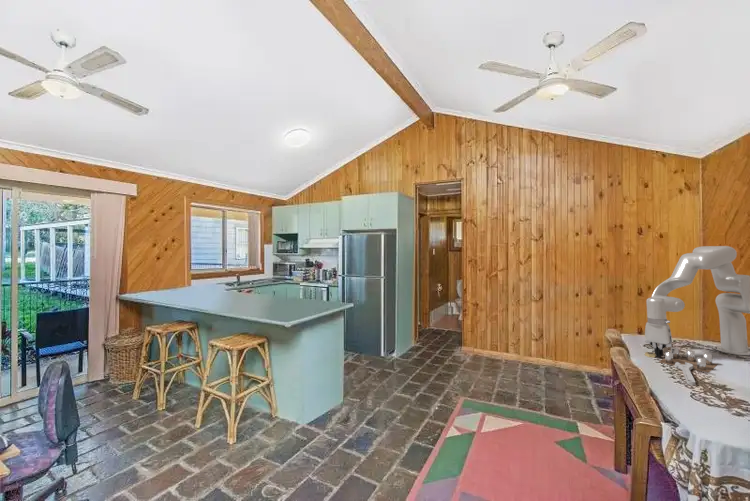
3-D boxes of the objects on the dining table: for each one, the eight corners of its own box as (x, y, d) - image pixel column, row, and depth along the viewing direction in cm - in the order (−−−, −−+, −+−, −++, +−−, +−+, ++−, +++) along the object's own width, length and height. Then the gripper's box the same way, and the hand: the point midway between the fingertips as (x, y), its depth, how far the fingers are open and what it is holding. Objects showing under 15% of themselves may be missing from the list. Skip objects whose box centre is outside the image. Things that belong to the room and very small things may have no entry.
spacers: (672, 356, 167) (671, 347, 167) (713, 364, 154) (712, 354, 154) (663, 362, 160) (662, 352, 160) (705, 370, 147) (704, 360, 147)
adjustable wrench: (696, 386, 134) (696, 382, 134) (675, 382, 138) (675, 378, 138) (693, 366, 152) (692, 363, 152) (674, 364, 156) (674, 360, 156)
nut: (644, 355, 172) (643, 351, 172) (655, 356, 170) (655, 352, 170) (646, 357, 168) (646, 354, 168) (657, 358, 166) (657, 354, 166)
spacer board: (669, 356, 169) (669, 355, 169) (718, 365, 153) (718, 364, 153) (658, 363, 160) (658, 362, 160) (708, 373, 145) (708, 372, 145)
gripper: (678, 322, 162) (680, 358, 162) (642, 318, 175) (644, 351, 174) (673, 324, 158) (675, 361, 158) (636, 320, 171) (638, 354, 170)
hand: (658, 355), depth 166 cm, fingers closed
